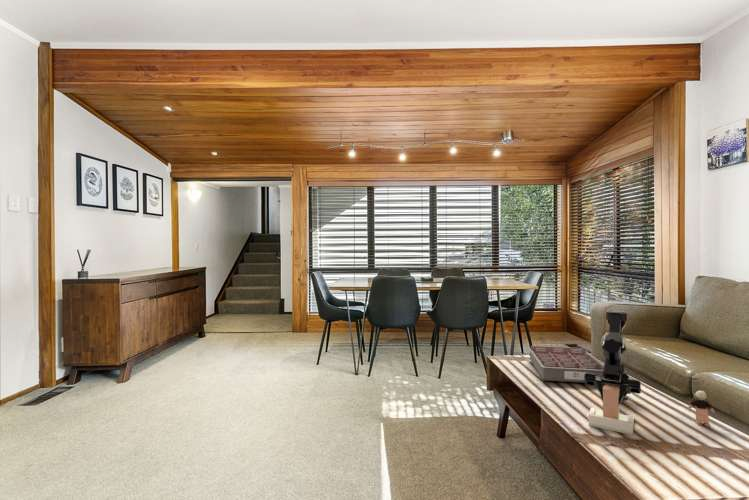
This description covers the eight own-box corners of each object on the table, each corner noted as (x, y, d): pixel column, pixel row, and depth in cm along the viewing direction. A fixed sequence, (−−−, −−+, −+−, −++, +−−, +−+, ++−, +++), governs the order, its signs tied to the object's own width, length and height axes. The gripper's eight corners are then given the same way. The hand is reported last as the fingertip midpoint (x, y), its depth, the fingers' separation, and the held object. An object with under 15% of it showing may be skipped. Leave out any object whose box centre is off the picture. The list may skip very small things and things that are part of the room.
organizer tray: (542, 383, 198) (542, 363, 198) (528, 361, 237) (528, 345, 237) (612, 387, 191) (612, 367, 191) (586, 364, 230) (586, 347, 230)
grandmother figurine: (710, 423, 151) (710, 390, 151) (715, 427, 147) (715, 393, 147) (686, 420, 153) (686, 388, 153) (691, 424, 150) (690, 391, 150)
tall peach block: (604, 414, 154) (604, 384, 154) (619, 417, 152) (619, 386, 152) (603, 420, 149) (602, 388, 150) (618, 423, 147) (618, 391, 147)
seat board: (593, 411, 163) (593, 401, 163) (633, 419, 155) (633, 409, 155) (588, 425, 149) (588, 414, 149) (632, 435, 141) (632, 424, 141)
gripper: (584, 352, 159) (581, 387, 150) (640, 359, 149) (640, 397, 139) (587, 367, 166) (583, 401, 157) (640, 374, 155) (640, 412, 146)
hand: (610, 402), depth 149 cm, fingers closed on tall peach block, 5 cm apart
